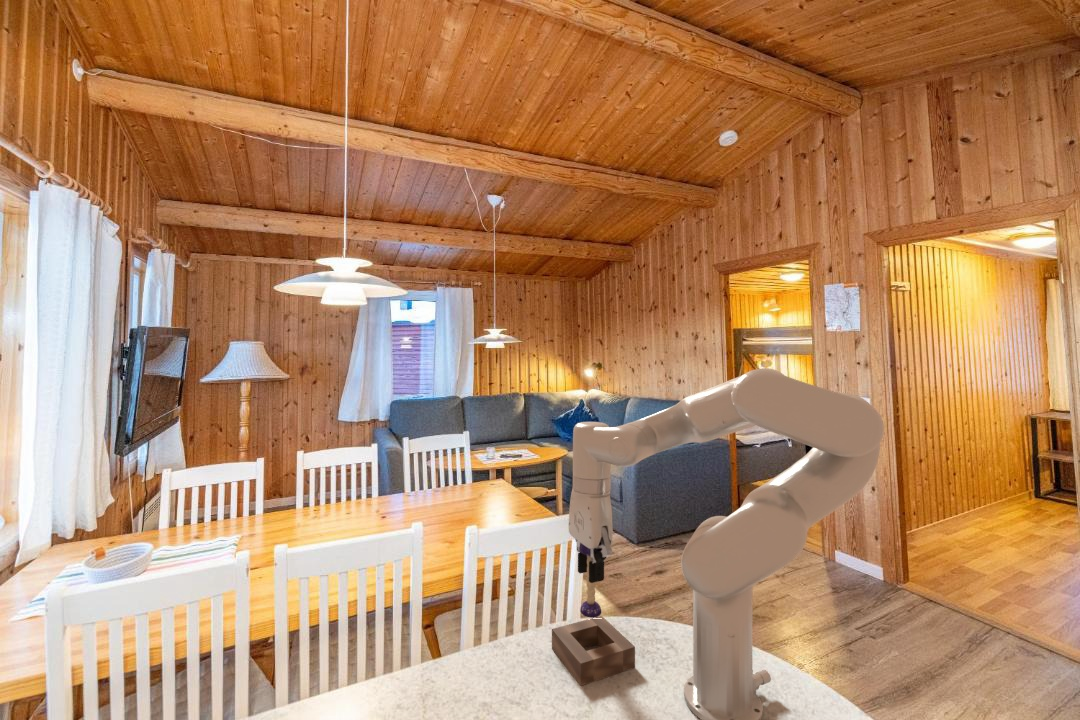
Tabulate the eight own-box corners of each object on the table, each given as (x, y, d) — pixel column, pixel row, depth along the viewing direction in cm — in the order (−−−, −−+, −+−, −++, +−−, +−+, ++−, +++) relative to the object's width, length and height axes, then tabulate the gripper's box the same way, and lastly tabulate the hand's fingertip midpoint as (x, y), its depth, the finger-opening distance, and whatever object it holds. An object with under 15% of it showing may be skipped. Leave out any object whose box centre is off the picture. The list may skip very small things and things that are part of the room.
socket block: (601, 634, 100) (601, 615, 100) (635, 667, 89) (635, 646, 89) (551, 648, 95) (551, 629, 95) (580, 685, 84) (580, 663, 84)
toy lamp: (600, 620, 90) (602, 536, 89) (576, 617, 91) (578, 534, 90) (602, 607, 95) (604, 527, 94) (579, 604, 96) (581, 524, 95)
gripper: (556, 476, 98) (555, 562, 98) (597, 498, 83) (596, 600, 83) (586, 473, 101) (586, 557, 101) (631, 493, 86) (630, 591, 86)
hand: (590, 575), depth 92 cm, fingers closed on toy lamp, 3 cm apart
